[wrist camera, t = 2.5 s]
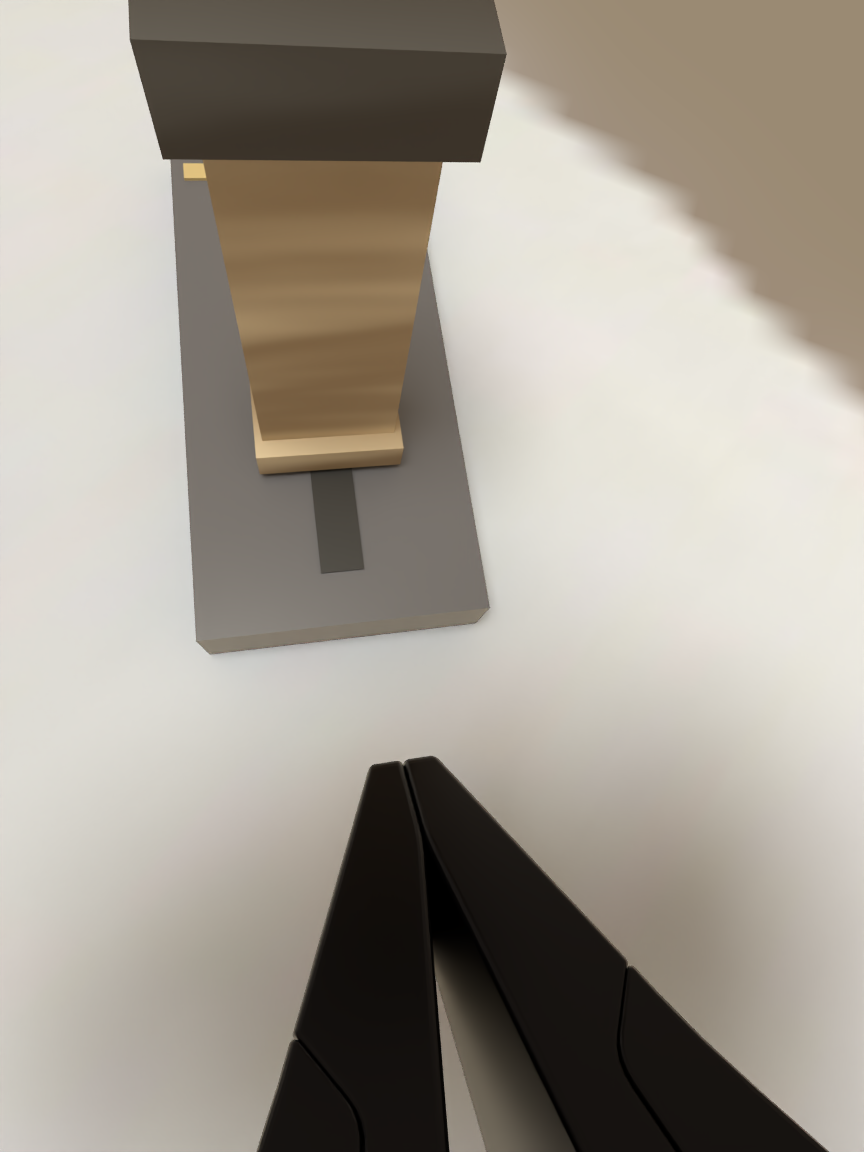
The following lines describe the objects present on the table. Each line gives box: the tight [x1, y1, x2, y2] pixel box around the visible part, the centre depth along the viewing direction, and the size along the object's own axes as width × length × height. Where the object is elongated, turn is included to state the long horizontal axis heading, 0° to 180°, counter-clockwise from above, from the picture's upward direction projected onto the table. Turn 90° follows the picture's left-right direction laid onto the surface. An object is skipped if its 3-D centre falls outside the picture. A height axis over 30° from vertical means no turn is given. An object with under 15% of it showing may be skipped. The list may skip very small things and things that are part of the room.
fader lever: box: [128, 0, 506, 474], centre depth 14 cm, size 3×5×12 cm, turn 98°
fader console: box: [171, 159, 490, 654], centre depth 21 cm, size 18×8×2 cm, turn 8°
